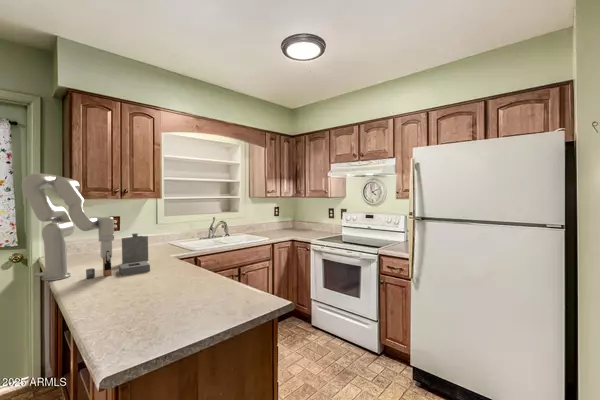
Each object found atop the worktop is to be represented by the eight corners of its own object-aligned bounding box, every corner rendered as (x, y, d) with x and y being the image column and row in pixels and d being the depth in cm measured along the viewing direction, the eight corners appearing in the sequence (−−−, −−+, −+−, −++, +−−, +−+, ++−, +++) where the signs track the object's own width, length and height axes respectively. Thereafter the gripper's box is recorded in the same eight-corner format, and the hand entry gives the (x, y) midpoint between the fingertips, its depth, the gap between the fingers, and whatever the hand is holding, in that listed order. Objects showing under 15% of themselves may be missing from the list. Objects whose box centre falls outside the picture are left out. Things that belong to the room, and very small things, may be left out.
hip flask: (122, 264, 195) (121, 234, 194) (121, 263, 198) (121, 234, 197) (148, 260, 204) (148, 232, 204) (147, 259, 208) (147, 232, 207)
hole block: (121, 275, 169) (121, 268, 169) (118, 271, 179) (118, 264, 178) (150, 270, 179) (149, 264, 179) (145, 267, 188) (145, 260, 188)
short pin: (86, 279, 162) (86, 270, 162) (86, 277, 165) (85, 269, 165) (95, 278, 164) (94, 269, 164) (94, 276, 168) (94, 268, 167)
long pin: (103, 276, 167) (103, 256, 167) (102, 275, 170) (102, 254, 170) (111, 275, 170) (111, 255, 169) (110, 273, 173) (110, 254, 172)
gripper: (97, 237, 173) (98, 266, 174) (100, 240, 160) (101, 273, 161) (112, 235, 178) (112, 264, 179) (116, 239, 165) (116, 270, 165)
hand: (107, 268), depth 170 cm, fingers open, 5 cm apart
